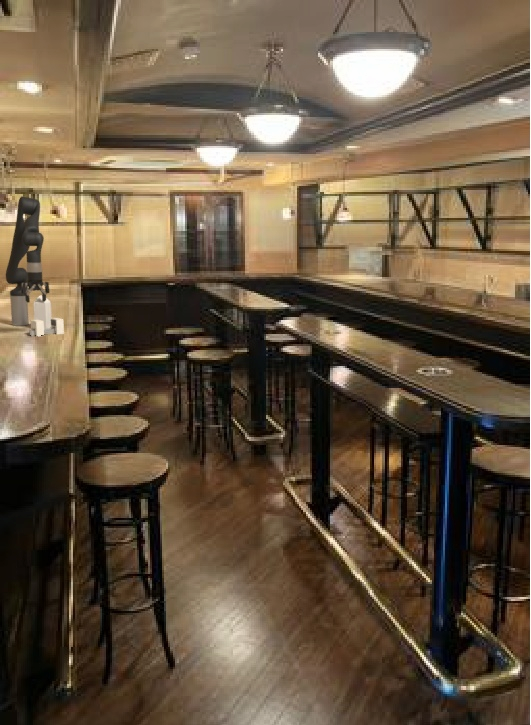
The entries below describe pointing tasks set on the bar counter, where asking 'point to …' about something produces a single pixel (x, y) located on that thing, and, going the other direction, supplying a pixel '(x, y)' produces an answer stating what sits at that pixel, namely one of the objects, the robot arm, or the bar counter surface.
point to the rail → (46, 331)
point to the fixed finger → (57, 325)
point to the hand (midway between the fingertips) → (36, 301)
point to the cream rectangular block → (37, 327)
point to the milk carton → (43, 311)
